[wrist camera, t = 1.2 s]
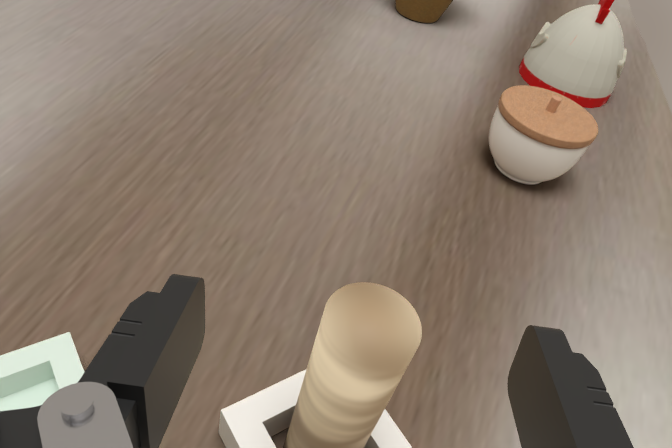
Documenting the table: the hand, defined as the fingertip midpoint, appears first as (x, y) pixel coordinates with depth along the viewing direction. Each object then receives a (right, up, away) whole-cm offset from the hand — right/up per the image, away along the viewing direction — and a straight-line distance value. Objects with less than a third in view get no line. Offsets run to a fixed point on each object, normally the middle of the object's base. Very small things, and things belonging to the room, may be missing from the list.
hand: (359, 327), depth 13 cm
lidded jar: (+21, +9, +49) cm, 54 cm away
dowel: (-2, -12, +20) cm, 24 cm away
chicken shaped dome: (+34, +24, +69) cm, 81 cm away
